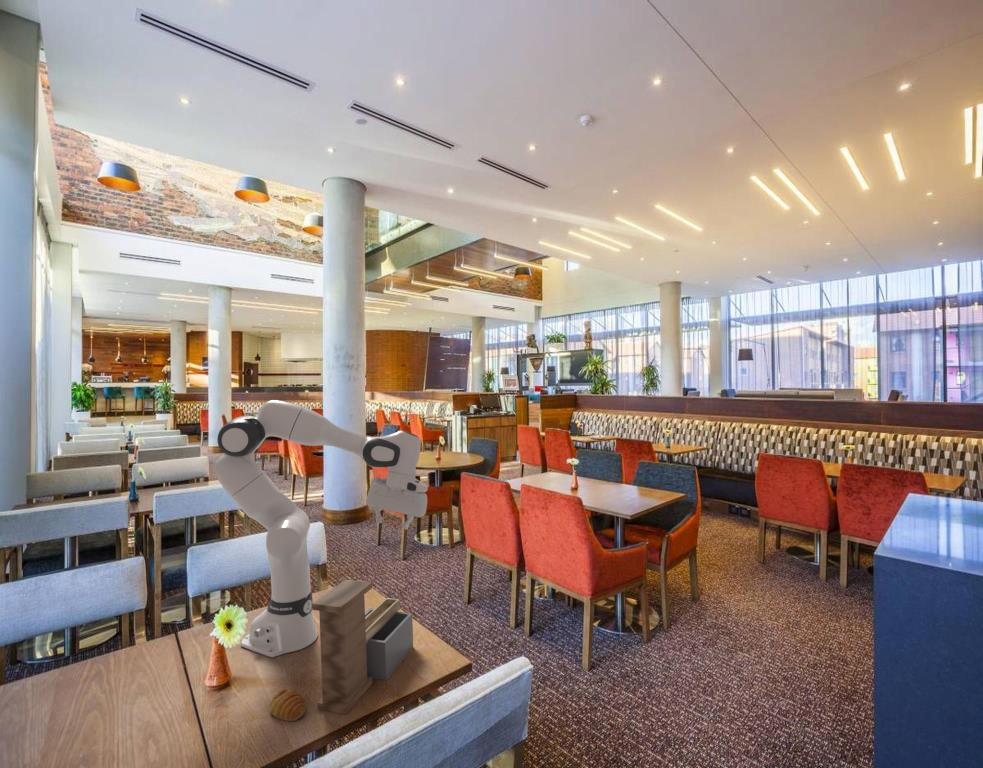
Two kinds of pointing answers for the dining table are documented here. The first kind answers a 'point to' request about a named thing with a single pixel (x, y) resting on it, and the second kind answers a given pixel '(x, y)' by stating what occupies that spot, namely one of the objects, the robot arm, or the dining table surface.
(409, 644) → the charcoal crate
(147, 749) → the dining table surface
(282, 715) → the pastry
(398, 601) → the birch crate
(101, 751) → the dining table surface
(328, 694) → the walnut pedestal
